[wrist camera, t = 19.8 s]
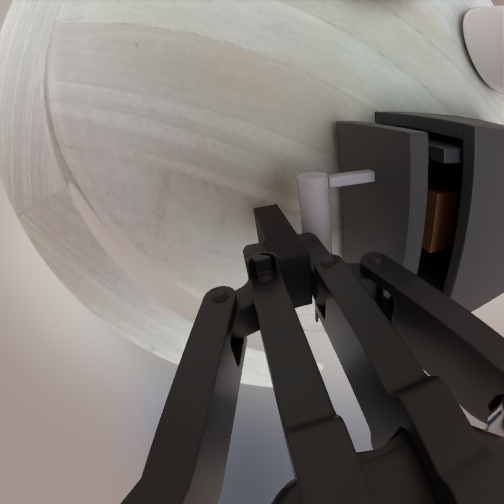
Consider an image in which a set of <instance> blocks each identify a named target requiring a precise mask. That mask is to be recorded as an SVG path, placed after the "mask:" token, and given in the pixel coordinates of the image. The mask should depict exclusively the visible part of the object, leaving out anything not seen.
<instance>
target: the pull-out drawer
mask: <svg viewBox="0 0 504 504" xmlns="http://www.w3.org/2000/svg"><path fill="white" fill-rule="evenodd" d="M336 125H337V134H338V144H339V155H340V167H341V173H337V174H330V175H327V173H325V172H321V171H309V172H304V173H301V174H299V175H297V185H298V194H299V203H300V212H301V222H302V233H307V232H310V233H312V234H314V235H316V236H317V237H318V239H319V240H320V241H321V242H322V244H323V245H324V246H325V247H326V249H327V250H328V251H329V253H330V254H332V241H331V216H330V199H329V188H334V187H340V186H342V202H343V245H344V253H343V260H344V262H345V263H360V258H361V256H362V255H364V254H366V253H369V252H377V253H381V254H384V255H386V256H387V257H389V258H390V259H392V260H394V261H395V262H397V263H398V264H400V265H402V266H403V267H405V268H406V269H408V270H409V271H411V272H413V273H414V274H416V275H417V276H419V277H420V278H422V279H423V280H425V281H426V282H428V283H429V284H431V285H432V286H434V287H435V288H437V289H438V290H440V291H441V292H443V288H444V284H445V281H446V277H447V273H448V269H449V264H450V260H451V255H452V251H453V246H451V247H448V248H445V249H442V250H439V251H436V252H432V253H429V252H428V251H427V250H425V249H424V248H423V247H422V241H423V234H424V225H425V216H426V204H427V190H428V169H430V170H433V171H435V172H438V173H440V174H443V175H445V176H448V177H450V178H452V179H455V180H457V181H459V182H461V183H462V175H463V140H461V139H457V138H454V137H450V136H445V135H441V134H437V133H432V132H428V131H417V130H412V129H406V128H401V127H395V126H388V125H381V124H374V123H366V122H357V121H339V122H336ZM384 296H385V297H387V298H389V296H390V294H389V293H387V292H386V291H385V294H384Z"/></svg>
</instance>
